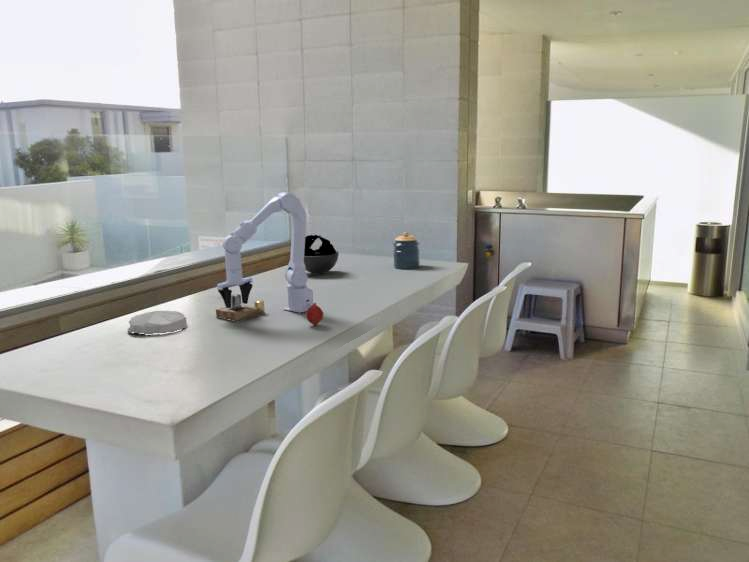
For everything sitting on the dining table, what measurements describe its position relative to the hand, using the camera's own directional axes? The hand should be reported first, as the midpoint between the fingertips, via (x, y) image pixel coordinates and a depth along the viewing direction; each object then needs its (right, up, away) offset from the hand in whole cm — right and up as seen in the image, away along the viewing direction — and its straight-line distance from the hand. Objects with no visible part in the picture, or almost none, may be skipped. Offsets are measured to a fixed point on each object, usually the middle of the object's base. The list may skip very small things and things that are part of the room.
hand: (236, 305), depth 241 cm
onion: (+30, -6, -15) cm, 34 cm away
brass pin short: (+8, -3, +5) cm, 10 cm away
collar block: (0, -4, +1) cm, 4 cm away
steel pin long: (0, -4, +1) cm, 4 cm away
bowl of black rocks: (+23, +12, +79) cm, 83 cm away
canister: (+66, +16, +88) cm, 111 cm away
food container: (-25, -8, -11) cm, 29 cm away
